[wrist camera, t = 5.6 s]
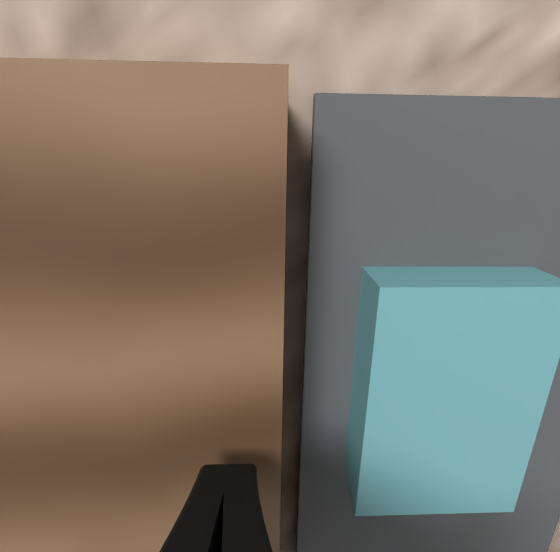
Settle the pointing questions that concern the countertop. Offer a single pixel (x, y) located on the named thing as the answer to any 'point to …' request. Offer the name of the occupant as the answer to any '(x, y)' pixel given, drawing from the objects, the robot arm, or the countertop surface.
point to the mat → (420, 253)
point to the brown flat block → (137, 294)
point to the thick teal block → (448, 387)
